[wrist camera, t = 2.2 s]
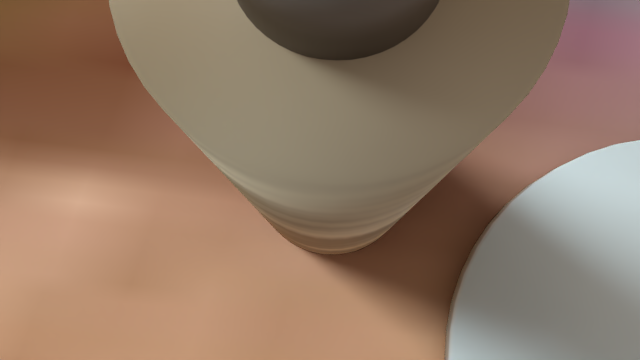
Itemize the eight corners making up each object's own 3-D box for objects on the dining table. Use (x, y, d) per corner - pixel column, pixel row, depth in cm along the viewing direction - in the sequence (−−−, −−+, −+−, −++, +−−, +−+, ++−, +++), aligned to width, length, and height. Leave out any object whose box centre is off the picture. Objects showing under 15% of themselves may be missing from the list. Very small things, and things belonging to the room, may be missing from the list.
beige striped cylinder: (437, 194, 20) (782, -94, 5) (315, 285, 20) (267, 282, 4) (347, 78, 21) (398, -494, 6) (227, 162, 21) (-76, -205, 5)
